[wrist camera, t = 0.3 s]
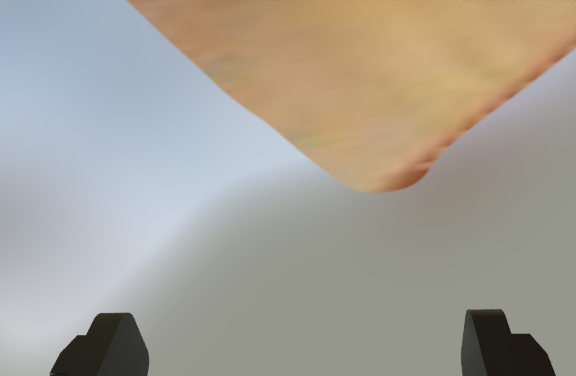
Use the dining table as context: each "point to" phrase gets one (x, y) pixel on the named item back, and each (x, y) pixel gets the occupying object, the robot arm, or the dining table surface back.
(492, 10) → the dining table surface
